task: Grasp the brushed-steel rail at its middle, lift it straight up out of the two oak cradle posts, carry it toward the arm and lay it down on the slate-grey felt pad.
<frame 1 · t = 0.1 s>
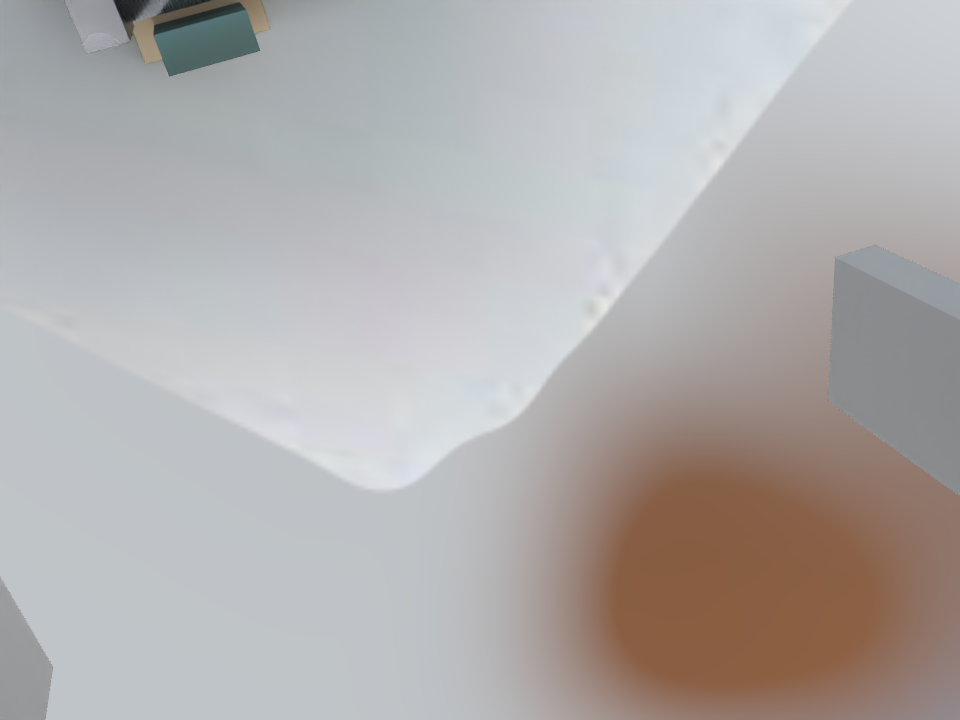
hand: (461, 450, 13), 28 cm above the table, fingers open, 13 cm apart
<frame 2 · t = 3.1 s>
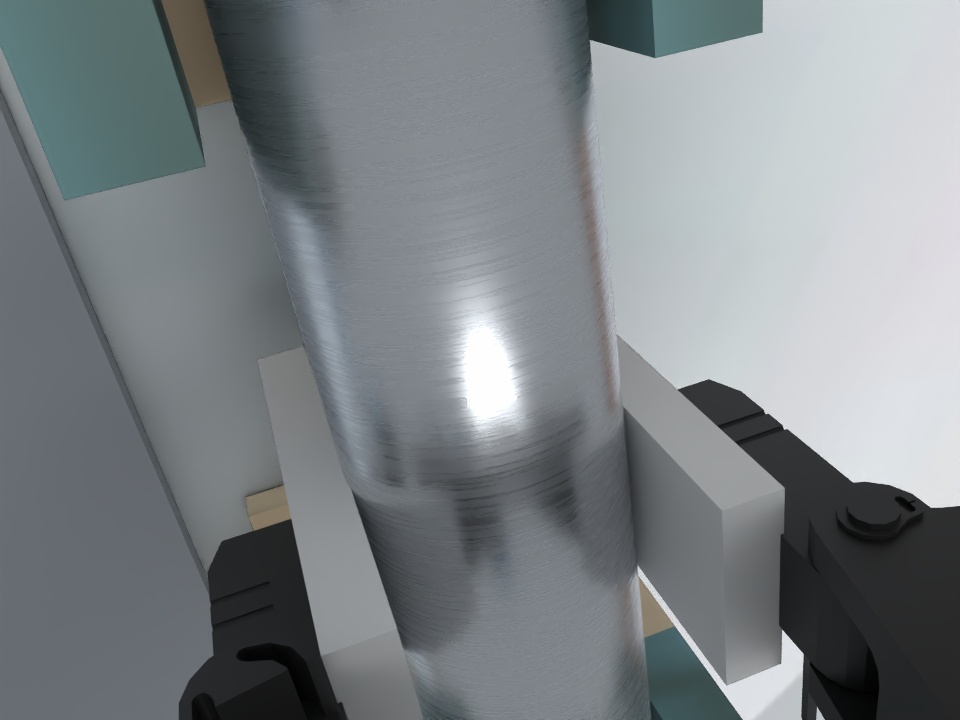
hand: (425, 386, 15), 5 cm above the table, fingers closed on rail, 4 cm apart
rail: (452, 433, 13), point 7 cm above the table, touching gripper, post, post
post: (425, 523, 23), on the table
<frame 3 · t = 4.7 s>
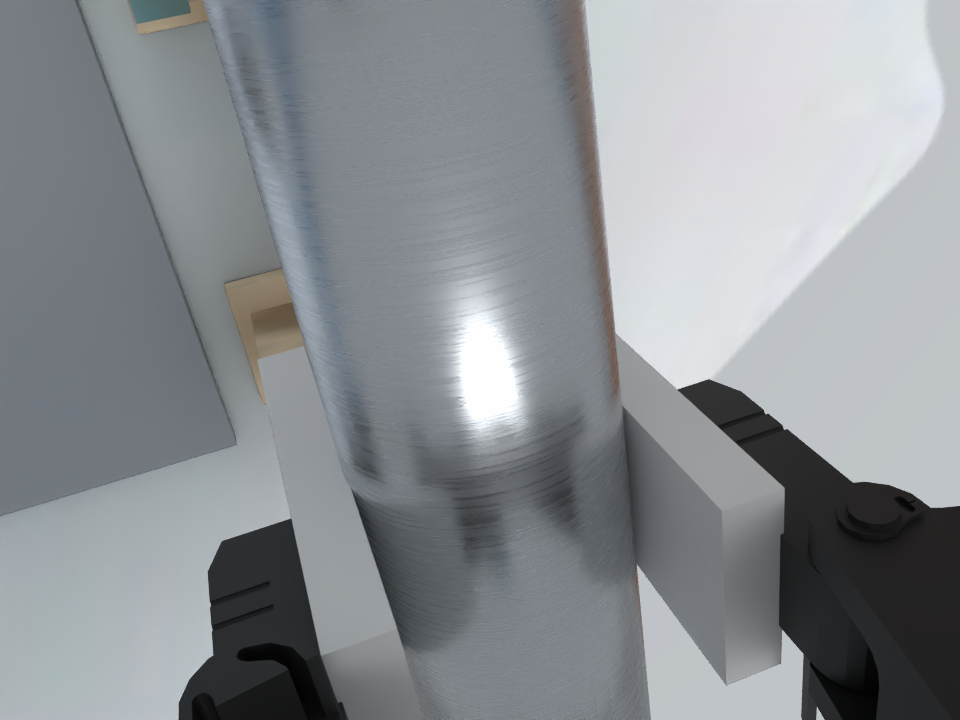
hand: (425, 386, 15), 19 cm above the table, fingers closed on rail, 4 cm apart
rail: (451, 432, 13), point 21 cm above the table, touching gripper
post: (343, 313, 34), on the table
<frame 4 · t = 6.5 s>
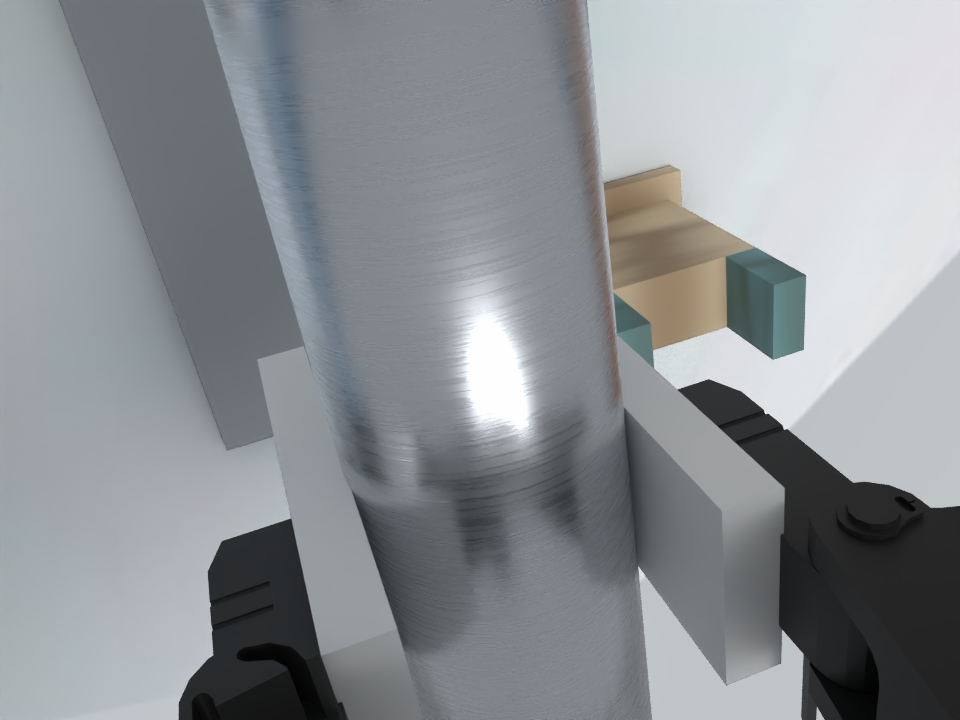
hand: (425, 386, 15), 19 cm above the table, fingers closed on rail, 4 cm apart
rail: (452, 433, 13), point 21 cm above the table, touching gripper
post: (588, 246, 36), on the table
pad: (287, 144, 31), on the table
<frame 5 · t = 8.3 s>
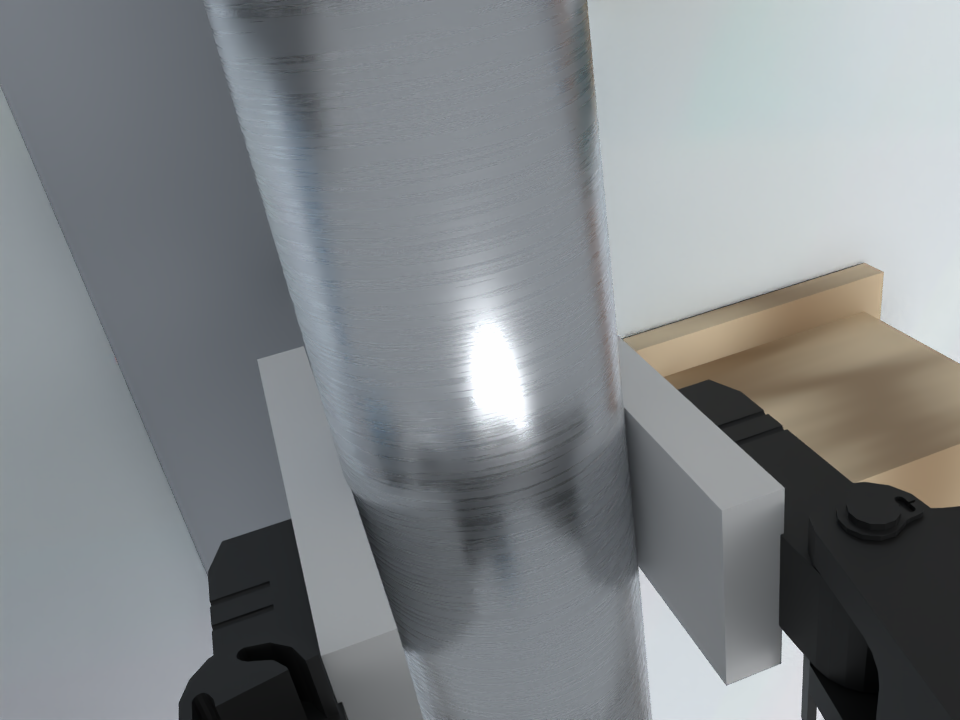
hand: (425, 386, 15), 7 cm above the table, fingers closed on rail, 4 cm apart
rail: (452, 433, 13), point 9 cm above the table, touching gripper
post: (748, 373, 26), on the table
pad: (343, 257, 21), on the table
when the fingers open (2 cm above the table, at t = 10.1 s): rail drops 3 cm, resting on pad.
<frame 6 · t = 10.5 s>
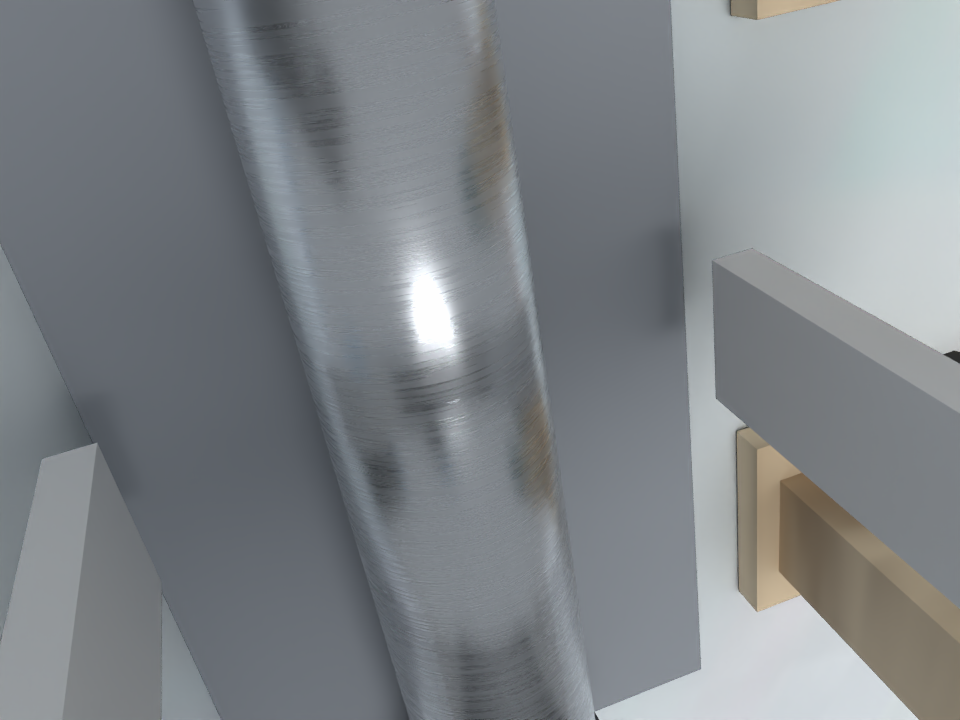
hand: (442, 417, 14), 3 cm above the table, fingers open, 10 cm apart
rail: (407, 362, 16), point 1 cm above the table, touching pad
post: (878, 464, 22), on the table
pad: (403, 347, 16), on the table
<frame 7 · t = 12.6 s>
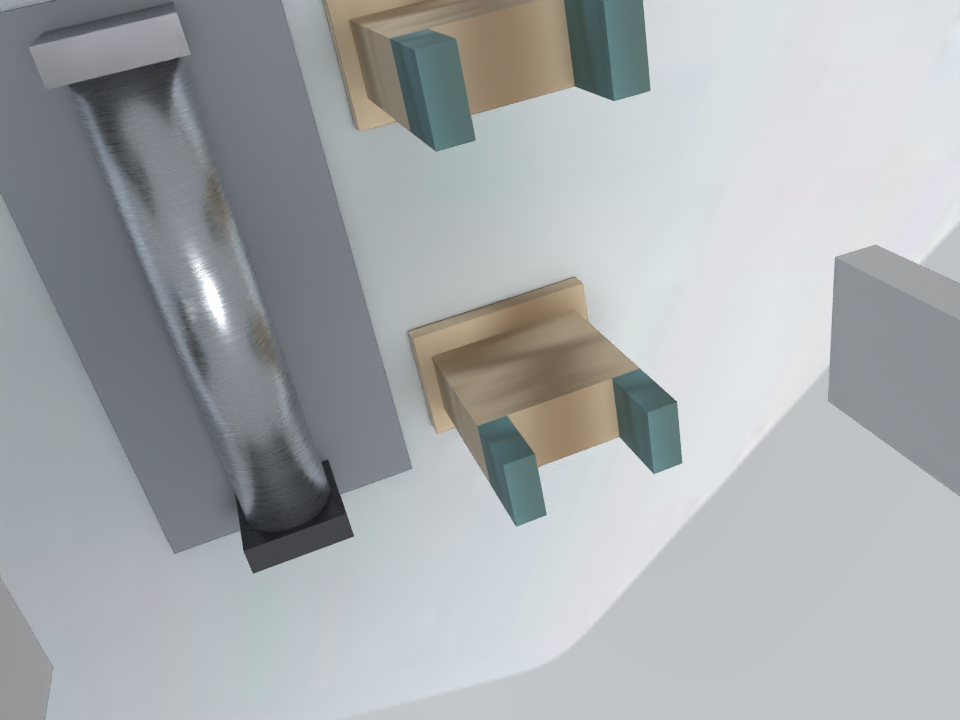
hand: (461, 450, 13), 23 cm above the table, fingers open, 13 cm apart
rail: (213, 292, 34), point 1 cm above the table, touching pad
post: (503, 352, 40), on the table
pad: (214, 286, 34), on the table
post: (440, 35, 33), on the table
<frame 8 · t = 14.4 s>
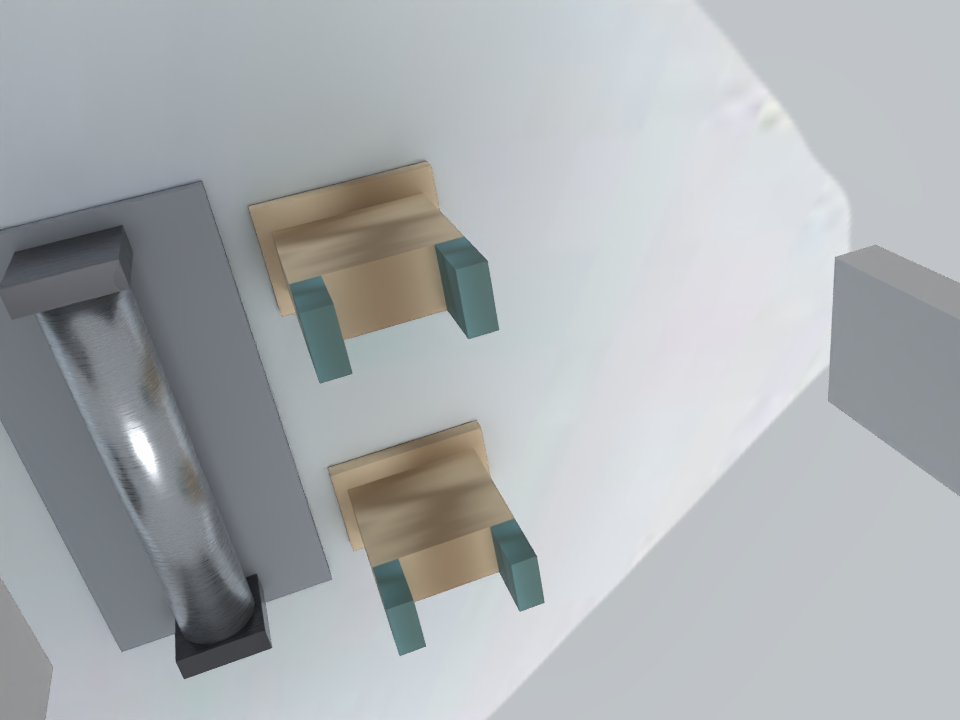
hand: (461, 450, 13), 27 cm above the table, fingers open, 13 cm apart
rail: (156, 444, 40), point 1 cm above the table, touching pad
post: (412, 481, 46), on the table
pad: (157, 437, 40), on the table
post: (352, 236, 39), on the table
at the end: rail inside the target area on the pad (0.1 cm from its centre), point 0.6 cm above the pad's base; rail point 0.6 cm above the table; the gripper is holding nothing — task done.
